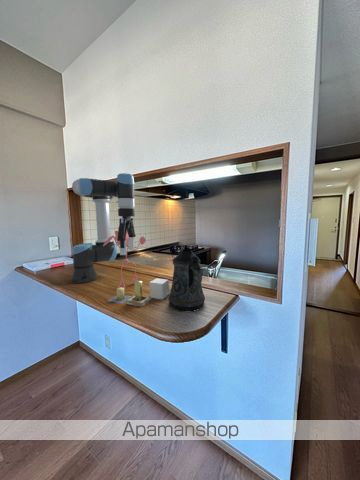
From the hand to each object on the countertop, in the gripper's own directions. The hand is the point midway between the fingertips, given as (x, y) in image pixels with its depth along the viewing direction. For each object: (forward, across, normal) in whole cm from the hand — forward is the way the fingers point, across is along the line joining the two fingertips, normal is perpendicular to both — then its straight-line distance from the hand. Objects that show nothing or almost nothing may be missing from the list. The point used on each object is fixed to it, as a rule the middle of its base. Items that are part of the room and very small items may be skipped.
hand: (127, 252), depth 97 cm
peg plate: (+23, +3, -3) cm, 23 cm away
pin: (+22, +7, +7) cm, 24 cm away
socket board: (+22, +7, +7) cm, 24 cm away
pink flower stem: (+23, -18, -7) cm, 30 cm away
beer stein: (+22, +9, +30) cm, 38 cm away
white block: (+22, -1, +15) cm, 27 cm away
